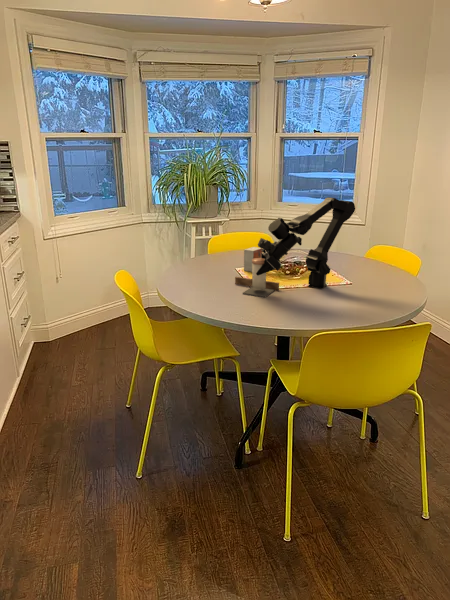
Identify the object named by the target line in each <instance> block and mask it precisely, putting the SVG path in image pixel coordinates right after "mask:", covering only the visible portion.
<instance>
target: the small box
mask: <svg viewBox="0 0 450 600" xmlns="http://www.w3.org/2000/svg"><path fill="white" fill-rule="evenodd" d="M262 249H263V248H260V247H257V246H252V247H249V248H245V249H243V271H244V272H251V273H252V264H253V263H252V259H254V258H261V253H263V252H262V251H261V250H262Z"/></svg>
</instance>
